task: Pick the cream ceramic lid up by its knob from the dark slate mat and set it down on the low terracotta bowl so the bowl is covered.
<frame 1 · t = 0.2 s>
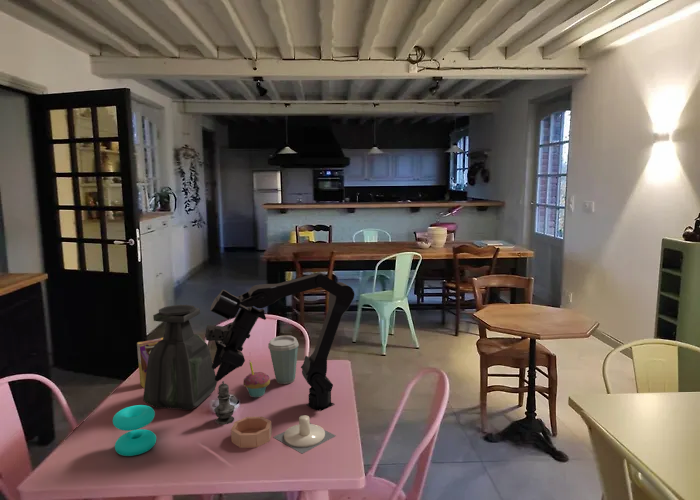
hand: (214, 374, 136), 15 cm above the table, tool tilted 30°, fingers open, 9 cm apart
cupcake: (257, 394, 157), on the table
lid: (304, 436, 129), point 1 cm above the table, touching mat
candy box: (154, 383, 167), on the table
disposable coffee cup: (284, 381, 168), on the table
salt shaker: (225, 420, 140), on the table
mat: (304, 438, 129), on the table
bottle: (182, 400, 153), on the table
bowl: (252, 439, 129), on the table
donuts: (136, 448, 125), on the table
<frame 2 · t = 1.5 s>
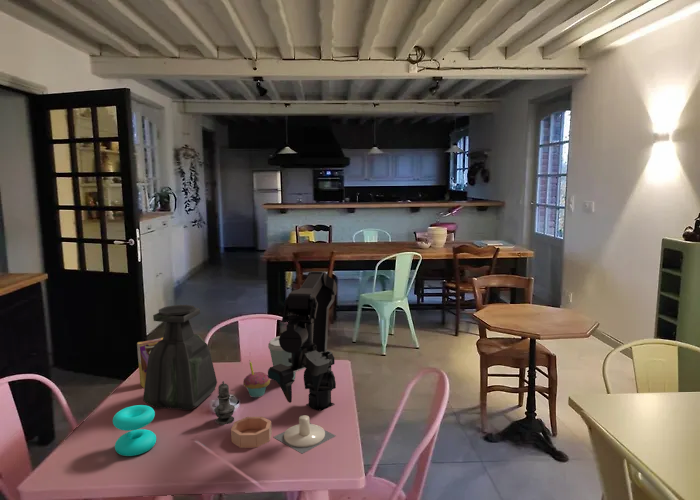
hand: (303, 396, 128), 12 cm above the table, tool pointing down, fingers open, 9 cm apart
nothing on the table moved.
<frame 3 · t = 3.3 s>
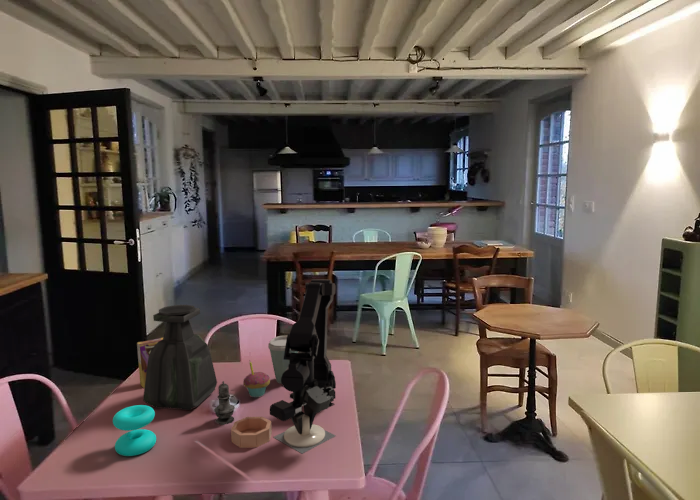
hand: (304, 431, 129), 2 cm above the table, tool pointing down, fingers closed on lid, 3 cm apart
lid: (304, 436, 129), point 1 cm above the table, touching gripper, mat
everything else where it was.
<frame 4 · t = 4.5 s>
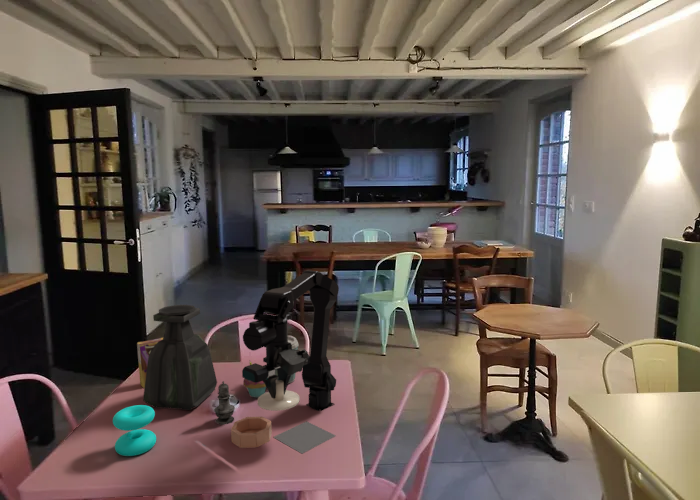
hand: (278, 396, 127), 12 cm above the table, tool pointing down, fingers closed on lid, 3 cm apart
lid: (278, 401, 127), point 11 cm above the table, touching gripper
everything else where it was.
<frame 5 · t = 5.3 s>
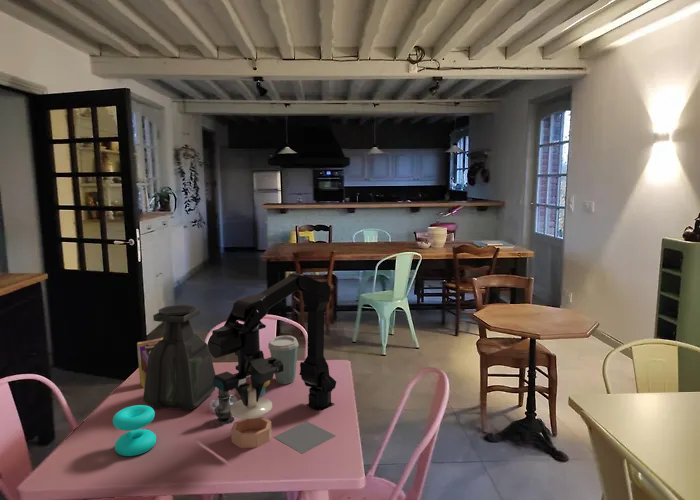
hand: (251, 403, 127), 10 cm above the table, tool pointing down, fingers closed on lid, 3 cm apart
lid: (251, 408, 128), point 9 cm above the table, touching gripper
everything else where it was.
when the fingers open (7 cm above the table, at t = 6.0 s): lid drops 1 cm, resting on bowl.
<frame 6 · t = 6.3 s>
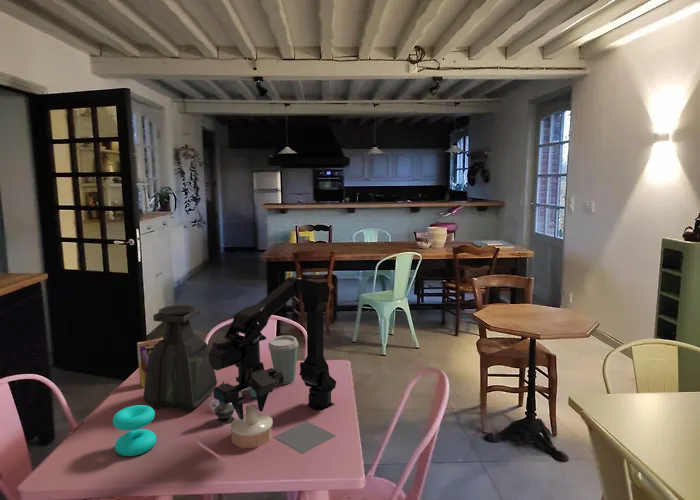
hand: (251, 415, 128), 7 cm above the table, tool pointing down, fingers open, 6 cm apart
lid: (251, 425, 128), point 4 cm above the table, touching bowl
everything else where it was.
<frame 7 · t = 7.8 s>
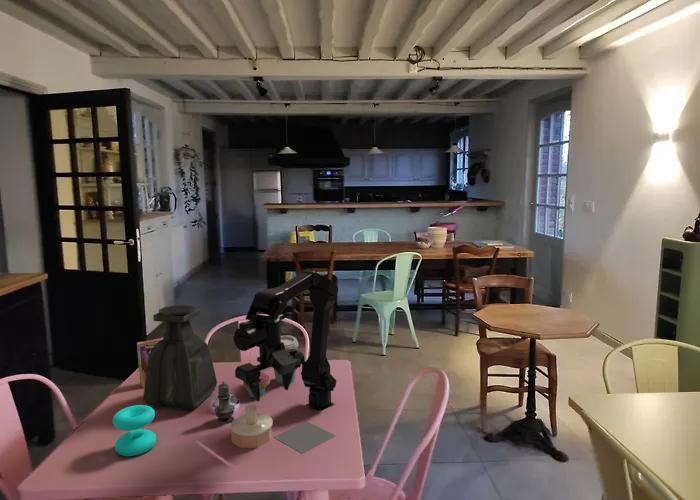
hand: (272, 395, 128), 12 cm above the table, tool pointing down, fingers open, 9 cm apart
nothing on the table moved.
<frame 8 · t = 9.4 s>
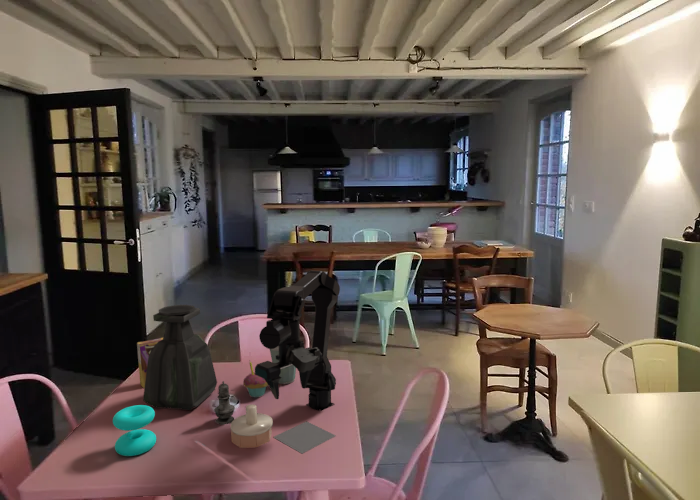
hand: (290, 393, 128), 13 cm above the table, tool pointing down, fingers open, 9 cm apart
nothing on the table moved.
at the end: lid 0.1 cm off-centre on the bowl, point 4.0 cm above the bowl's base; lid tilted 0°; the gripper is holding nothing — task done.
